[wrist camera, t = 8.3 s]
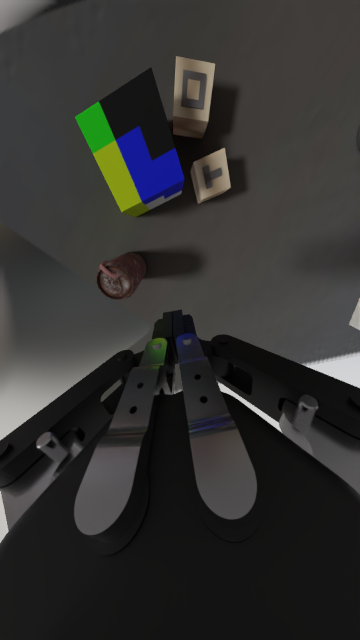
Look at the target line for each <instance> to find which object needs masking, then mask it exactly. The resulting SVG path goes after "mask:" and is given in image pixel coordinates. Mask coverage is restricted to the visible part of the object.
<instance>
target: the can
mask: <svg viewBox="0 0 360 640" xmlns="http://www.w3.org/2000/svg"><path fill="white" fill-rule="evenodd" d="M146 271H147V265H146V262H145V260H144V258H143V257H142V256H141V255H139V254H138V253H135V252H128V253H125V254H123V255H121V256H119V257H117V258H115V259H113V260H111V261H104V262H102V263H101V264H100V268H99V269H98V272H97V275H96V276H97V277H96V279H97V285H98V288H99V289H100V290H101V292H102V293H103V294H104V295H106V296H107V297H109V298H111V299H116V300H121V299H126V298H128V297H130V296H131V295H132V294H133V293H134V291H135V290H136V288H137V287H138V285H139V283H140V282H141V280H142V279H143V277H144V275H145V274H146Z"/></svg>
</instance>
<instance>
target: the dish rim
mask: <svg viewBox="0 0 360 640" xmlns="http://www.w3.org/2000/svg"><path fill="white" fill-rule="evenodd" d="M349 325H351V326H353V327H355V328H357V329H359V330H360V299H359V302H358V304H357V306H356V309H355V311H354V314H353V316H352V318H351V321H350V323H349Z"/></svg>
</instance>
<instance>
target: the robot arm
mask: <svg viewBox="0 0 360 640" xmlns="http://www.w3.org/2000/svg"><path fill="white" fill-rule="evenodd" d="M358 148H359V151H360V128H359V133H358ZM178 359H179V368H180V375H181V381H182V388H183V391H181V392H178V393H176V394H174V385H175V370H174V369H175V364H178ZM237 366H238V367H237ZM246 371H247V372H246ZM118 380H120V382H121V385H120V386H119V387H118V388H117V389H116V390H115V391H114V392H113V393H111V394H110V395H109V396H108V397H107V398H106V399H105V400H104V401H103V402H101V396H102V395H103V393H104V392H105V391H107V390H108V389H109V388H110V387H111V386H112V385H113V384H114V383H116V382H117V381H118ZM217 381H219V382H220V383H222V384H223V385H225V386H226V387H228V388H229V389H230V390H232V391H233V392H235V393H236V394H238V395H239V396H241V397H242V398H244V399H245V400H247V401H248V402H250V403H251V404H252V405H254V406H255V407H257V408H258V409H260V410H261V411H263V412H264V413H266V414H267V415H268V416H270V417H271V418H273V419H274V420H276V421H277V422H279V425H280V428H281V431H282V433H281V432H280V431H279V430H277V429H276V428H275V427H273V426H272V425H271V424H269V423H268V422H267V421H265V420H264V419H263V418H261V417H260V416H259V415H257V414H256V413H255V412H253V411H252V410H251V409H250V408H248V407H247V406H246V405H244V404H243V403H242V402H240V401H239V400H238V399H236V398H234V397H233V396H231V395H229V394H227V393H223V392H221V391H220V388H219V385H218V383H217ZM0 491H1V494H2V499H3V504H4V509H5V514H6V519H7V524H8V529H9V532H8V533H7V534H6V536H5V537H4V539H3V540H2V542H1V543H0V640H360V388H357V387H355V386H353V385H350V384H348V383H345V382H343V381H340V380H338V379H335V378H333V377H330V376H328V375H326V374H323V373H321V372H318V371H315V370H313V369H311V368H308V367H306V366H303V365H301V364H298V363H296V362H294V361H291V360H289V359H286V358H284V357H281V356H279V355H276V354H274V353H271V352H269V351H266V350H264V349H262V348H259V347H257V346H254V345H252V344H249V343H247V342H244V341H242V340H239V339H237V338H234V337H232V336H229V335H217V336H215V337H213V338H212V340H211V341H204V340H201V339H199V338H198V337H197V335H196V331H195V327H194V322H193V318H192V316H190V315H189V314H188V315H183V314H182V310H177V311H173V312H172V311H171V312H165V313H163V319H159V320H157V322H156V323H155V325H154V331H153V336H152V340H151V341H150V342H148V343H147V345H146V347H145V350H144V351H142V352H139V353H137V354H134V353H133V352H132V351H131V350H123V351H120V352H118V353H117V354H115V355H114V356H113V357H111V358H110V359H109V360H107V361H106V362H105V363H103V364H102V365H101V366H99V367H98V368H97V369H95V370H94V371H93V372H91V373H90V374H89V375H87V376H86V377H85V378H83V379H82V380H81V381H79V382H78V383H77V384H75V385H74V386H73V387H71V388H70V389H69V390H67V391H66V392H65V393H63V394H62V395H61V396H59V397H58V398H57V399H55V400H54V401H53V402H51V403H50V404H49V405H48V406H46V407H45V408H43V409H42V410H41V411H39V412H38V413H37V414H35V415H34V416H33V417H31V418H30V419H29V420H27V421H26V422H25V423H23V424H22V425H21V426H19V427H18V428H17V429H15V430H14V431H13V432H11V433H10V434H9V435H7V436H6V437H5V438H3V439H2V440H1V441H0Z"/></svg>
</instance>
